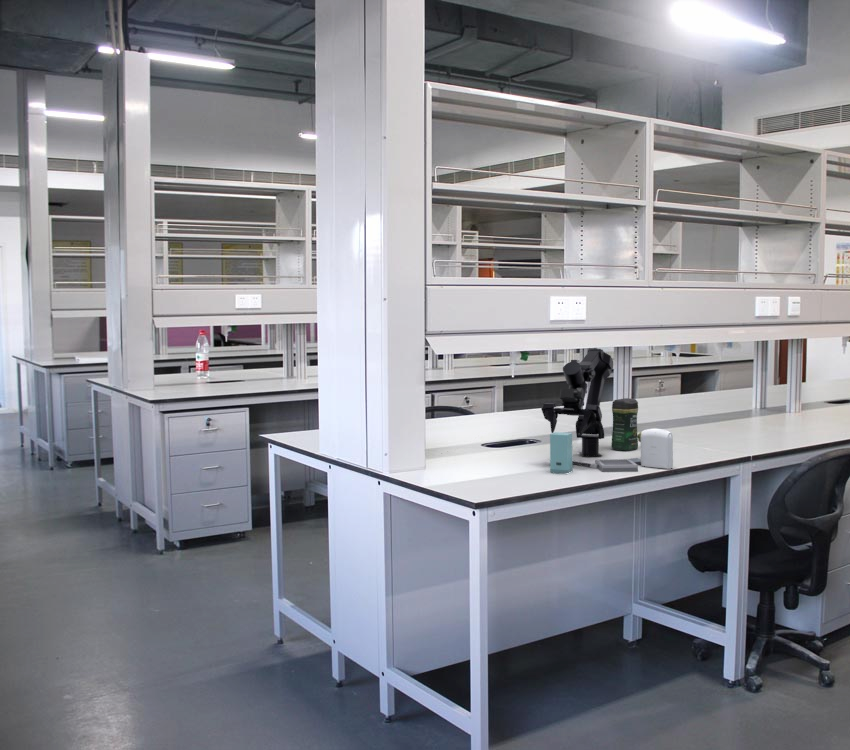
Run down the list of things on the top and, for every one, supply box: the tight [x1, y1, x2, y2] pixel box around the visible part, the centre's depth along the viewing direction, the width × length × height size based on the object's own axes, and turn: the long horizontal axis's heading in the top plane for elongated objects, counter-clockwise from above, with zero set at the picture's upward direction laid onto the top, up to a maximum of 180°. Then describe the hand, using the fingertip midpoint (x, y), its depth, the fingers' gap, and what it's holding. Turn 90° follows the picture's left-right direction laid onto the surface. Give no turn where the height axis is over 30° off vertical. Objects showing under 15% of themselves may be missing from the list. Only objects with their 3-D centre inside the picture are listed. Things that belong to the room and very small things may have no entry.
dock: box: [594, 458, 639, 473], centre depth 255 cm, size 11×11×2 cm
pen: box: [572, 460, 598, 469], centre depth 262 cm, size 14×1×1 cm, turn 40°
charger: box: [549, 431, 574, 474], centre depth 251 cm, size 5×6×12 cm
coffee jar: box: [611, 397, 639, 452], centre depth 292 cm, size 10×8×19 cm
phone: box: [629, 457, 641, 466], centre depth 263 cm, size 7×14×1 cm, turn 105°
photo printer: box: [640, 427, 674, 470], centre depth 256 cm, size 10×4×12 cm, turn 47°
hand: (566, 432), depth 255 cm, fingers open, 9 cm apart
